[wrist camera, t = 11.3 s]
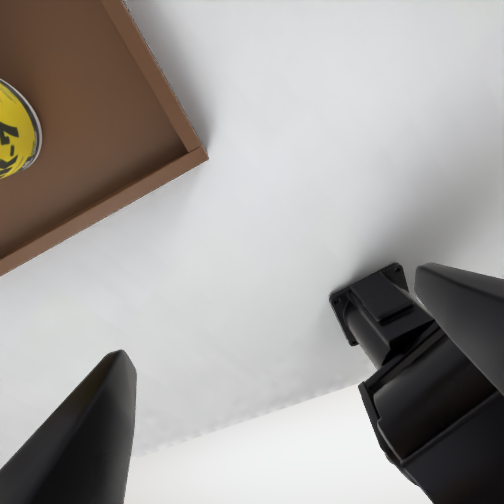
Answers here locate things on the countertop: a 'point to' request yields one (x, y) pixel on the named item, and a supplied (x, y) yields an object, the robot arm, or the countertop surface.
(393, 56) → the countertop surface
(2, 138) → the supplement bottle
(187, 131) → the tray
